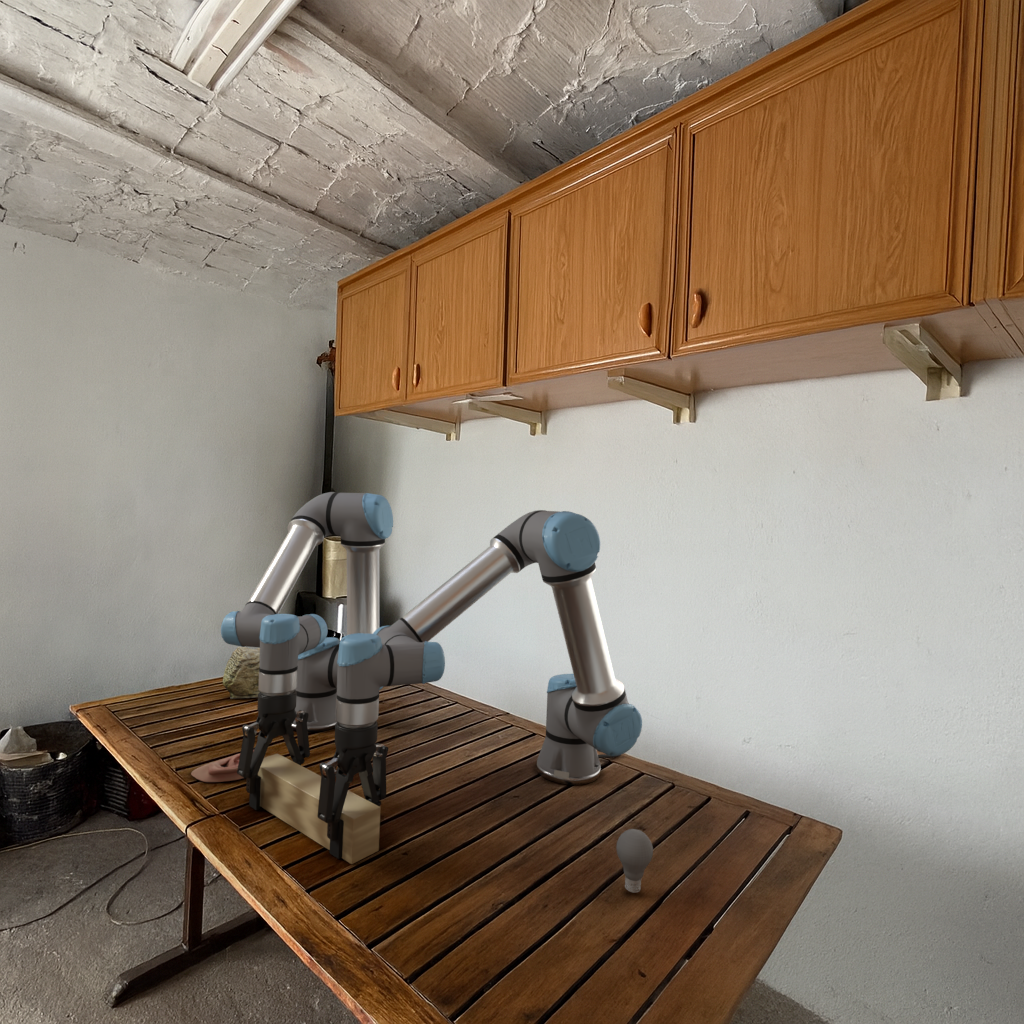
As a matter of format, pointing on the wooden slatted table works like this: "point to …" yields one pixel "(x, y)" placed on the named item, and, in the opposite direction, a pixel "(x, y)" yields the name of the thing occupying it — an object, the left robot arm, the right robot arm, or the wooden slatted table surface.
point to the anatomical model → (219, 770)
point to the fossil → (243, 673)
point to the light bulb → (634, 857)
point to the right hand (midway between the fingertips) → (351, 847)
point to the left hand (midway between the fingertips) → (273, 800)
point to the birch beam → (297, 801)
